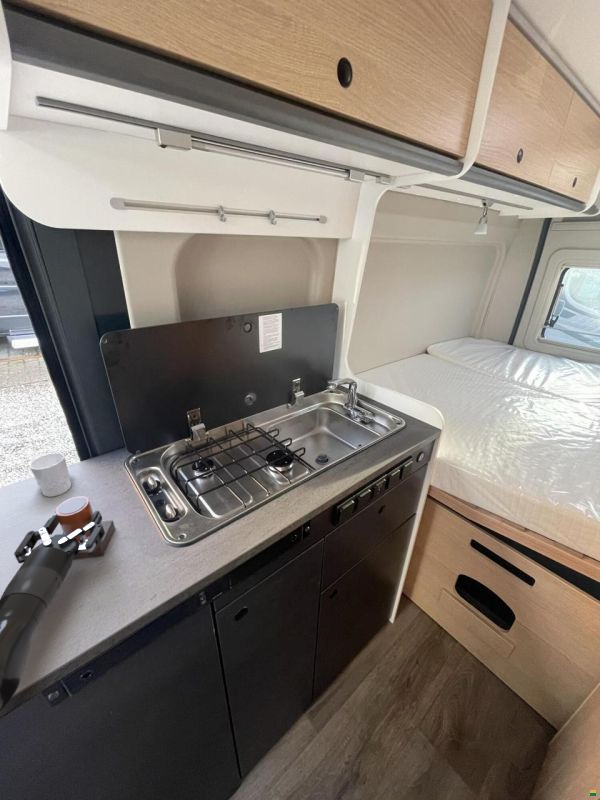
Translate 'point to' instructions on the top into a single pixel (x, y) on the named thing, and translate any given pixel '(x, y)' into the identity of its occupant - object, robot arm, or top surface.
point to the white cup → (51, 474)
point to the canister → (74, 514)
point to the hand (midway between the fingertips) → (77, 515)
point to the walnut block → (102, 546)
